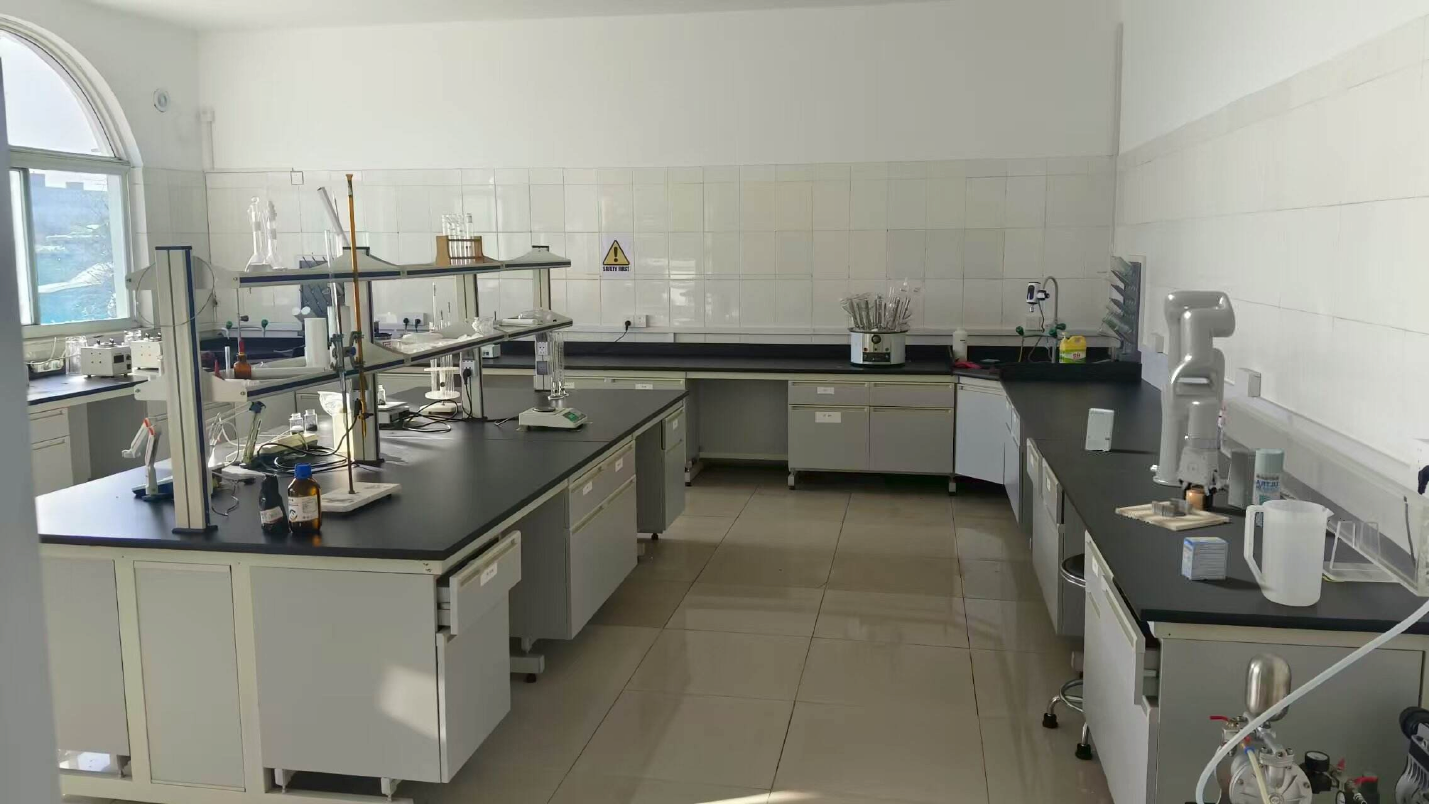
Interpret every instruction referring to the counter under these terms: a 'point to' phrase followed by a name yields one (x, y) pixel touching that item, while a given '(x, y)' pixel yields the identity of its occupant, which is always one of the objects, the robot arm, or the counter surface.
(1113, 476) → the counter surface
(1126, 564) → the counter surface
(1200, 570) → the medicine box
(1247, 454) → the skincare box
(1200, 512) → the barrel mount
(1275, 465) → the spray paint can
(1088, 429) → the skincare box
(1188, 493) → the tan round jar
